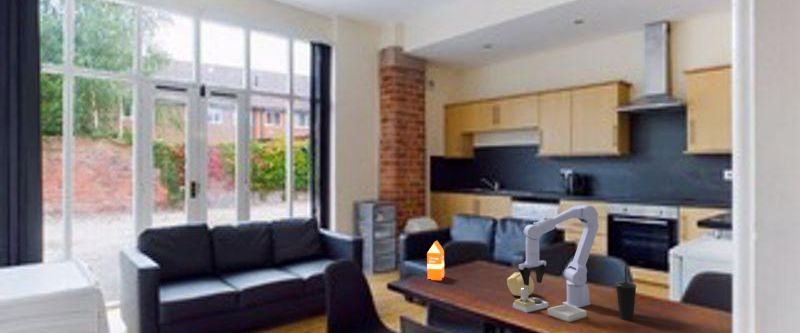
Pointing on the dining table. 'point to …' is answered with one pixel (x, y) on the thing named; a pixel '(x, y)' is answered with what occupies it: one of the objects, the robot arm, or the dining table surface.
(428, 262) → the orange juice
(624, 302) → the drinking cup
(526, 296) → the lock pin
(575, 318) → the tray
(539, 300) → the white flat block
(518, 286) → the sculpture
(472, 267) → the dining table surface
